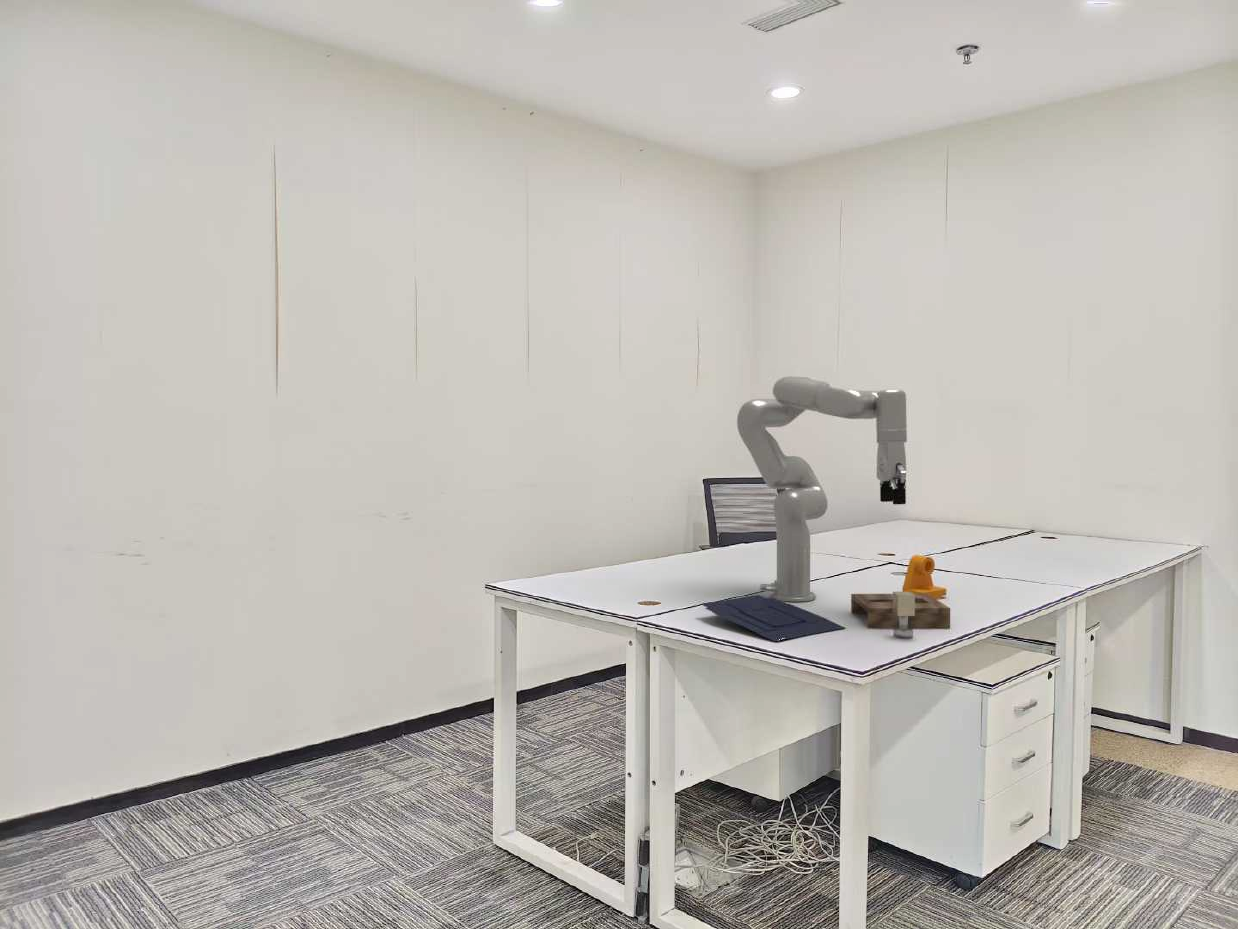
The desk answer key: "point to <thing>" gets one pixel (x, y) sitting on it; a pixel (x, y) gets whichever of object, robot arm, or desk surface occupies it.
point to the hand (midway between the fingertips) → (892, 502)
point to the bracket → (922, 578)
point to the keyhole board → (882, 616)
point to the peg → (903, 613)
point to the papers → (771, 617)
